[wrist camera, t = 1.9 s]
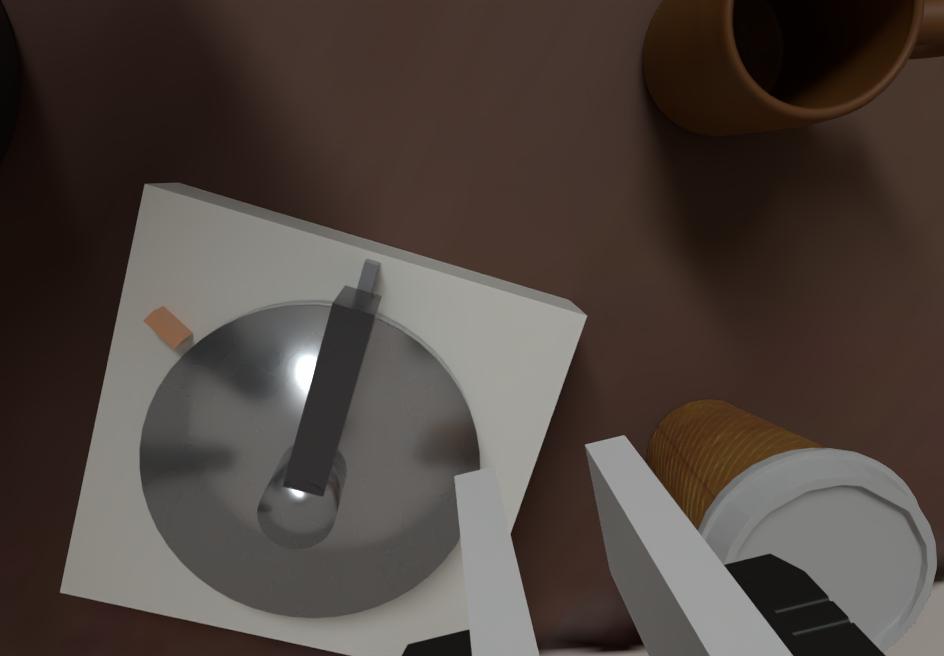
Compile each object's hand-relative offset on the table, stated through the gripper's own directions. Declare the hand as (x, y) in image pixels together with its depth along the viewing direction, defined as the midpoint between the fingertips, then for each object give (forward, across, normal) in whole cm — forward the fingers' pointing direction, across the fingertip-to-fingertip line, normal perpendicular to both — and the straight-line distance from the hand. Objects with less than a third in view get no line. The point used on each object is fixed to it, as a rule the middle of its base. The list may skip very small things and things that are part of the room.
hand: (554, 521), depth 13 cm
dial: (+18, -9, -4) cm, 21 cm away
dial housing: (+22, -9, -5) cm, 25 cm away
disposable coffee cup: (+23, +11, -11) cm, 27 cm away
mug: (+23, +16, +8) cm, 29 cm away
